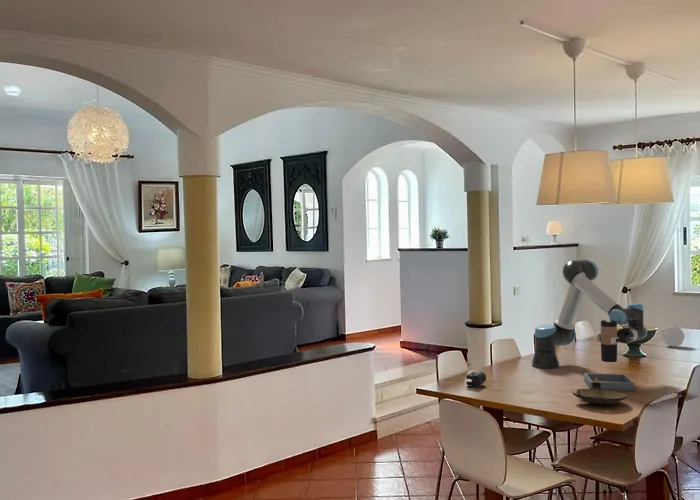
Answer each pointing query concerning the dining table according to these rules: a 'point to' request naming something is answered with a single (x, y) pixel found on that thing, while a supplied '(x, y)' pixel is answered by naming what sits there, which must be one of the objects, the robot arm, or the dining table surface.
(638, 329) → the robot arm
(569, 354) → the dining table surface
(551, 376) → the dining table surface
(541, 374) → the dining table surface
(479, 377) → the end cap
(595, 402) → the oil lamp
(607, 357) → the travel mug
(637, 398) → the dining table surface
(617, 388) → the parts tray
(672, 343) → the decorative ball
